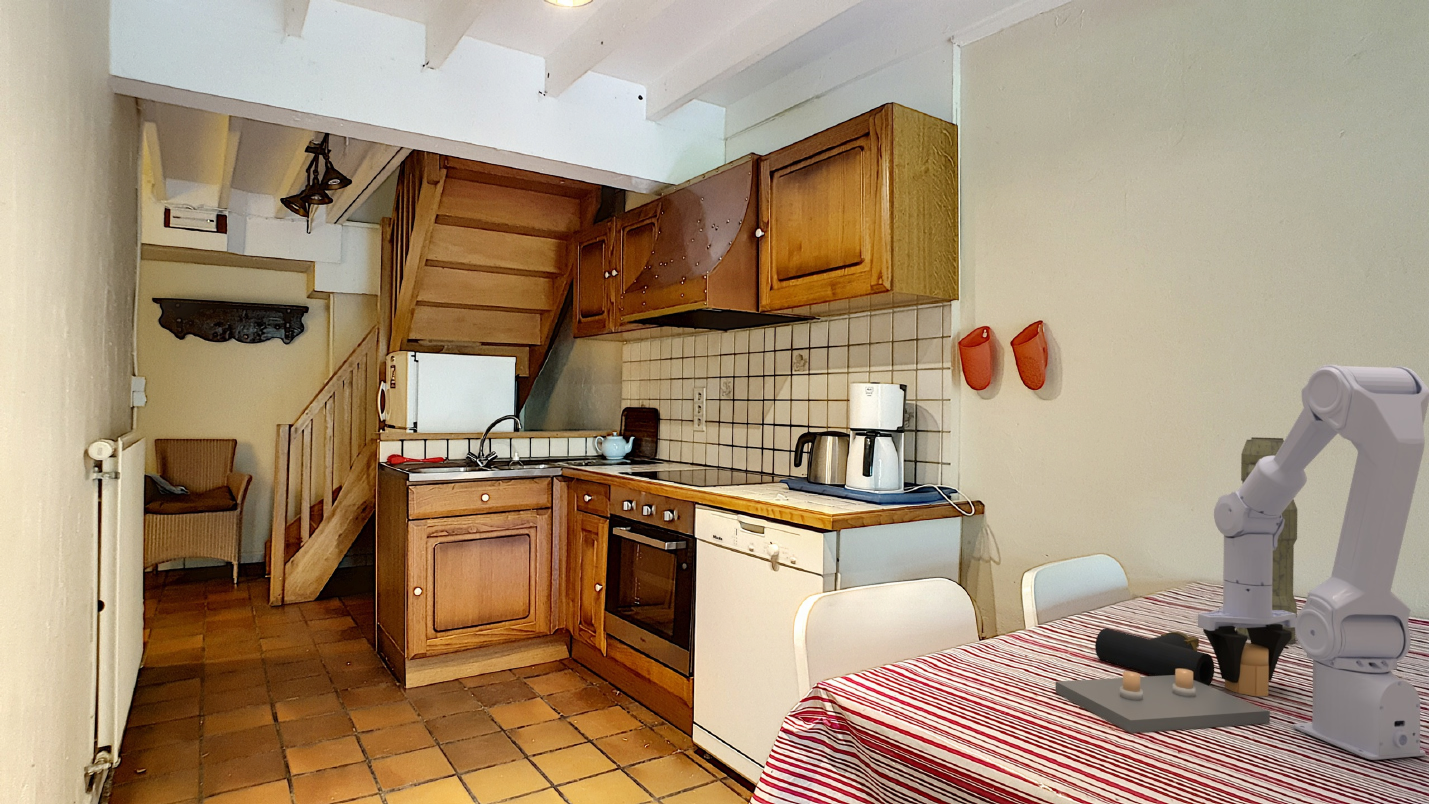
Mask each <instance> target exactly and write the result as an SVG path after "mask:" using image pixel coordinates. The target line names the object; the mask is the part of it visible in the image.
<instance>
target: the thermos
mask: <svg viewBox="0 0 1429 804" xmlns="http://www.w3.org/2000/svg"><path fill="white" fill-rule="evenodd" d="M1250 438H1251V439H1246V441H1245V444H1244V446H1243V448H1242V450H1241V459H1240V460H1241V462H1240V463H1241V465H1240V466H1241V467H1240V468H1241V469H1240V475H1241V476H1240V480H1241V481H1242V483H1241V485H1242V484H1243V483H1244V481H1245V480H1246V479H1247V477H1248V476H1249V474H1250V473H1251V472H1252V470H1253V469H1254V468H1255V466H1256V463H1257V462H1258V461H1259V459H1262V458H1263V457H1266V456H1276V454H1277V452H1278V451H1279V449H1280V447H1281V446H1282V444H1283V442H1284V440H1285V439H1284V438H1283V437H1250ZM1294 499H1295V498H1294ZM1294 499H1293V500H1292V501H1291V502H1290V504H1289V505H1288V506H1287V507H1286V509H1285V510H1284V511H1283V513H1282V518H1283V519H1284V520H1285V521H1284V527H1283V530H1282V532H1281V533H1280V534H1279V536H1278V540H1277V547H1276V550H1274V551H1273V568H1272V610H1284V611H1288V612H1291V613H1295V614H1296V617H1297V615H1298V608H1297V601H1296V598H1295V597H1294V562H1295V561H1294V558H1295V557H1294V556H1295V555H1294V553H1295V552H1294V550H1295V549H1294V547H1295V543H1296V541H1297V540H1298V507H1297V505H1296V503H1295V500H1294ZM1283 629H1285V630H1288V631H1291V632H1292V639H1291V640H1290V641H1289V642H1288V643H1287V645H1286V646H1288V645H1294V644H1295V643H1296V640H1297V638H1296V633H1295V627H1286V626H1283ZM1235 631H1238V634H1241V635H1244V636H1247V637H1248V639H1247V641H1248V640H1249V641H1250V637H1249V634H1248V631H1247V628H1235Z"/></svg>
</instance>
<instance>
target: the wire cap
mask: <svg viewBox="0 0 1429 804" xmlns="http://www.w3.org/2000/svg"><path fill="white" fill-rule="evenodd" d="M1268 657H1269V650H1268V648H1266V647H1263V646H1260V645H1257V644H1252V643H1251V642H1246V643H1245V646H1244V649H1243V652H1242V656H1241V664H1240V677H1239V681H1238V683H1232V682H1230V681H1227V680H1225V679H1224V688H1225V689H1226V690H1228V691H1231V692H1234V693H1236V694H1239V695H1247V696H1251V697H1268V696H1269V689H1270V688H1269V682H1270V681H1269V665H1268Z"/></svg>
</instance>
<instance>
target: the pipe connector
mask: <svg viewBox="0 0 1429 804" xmlns="http://www.w3.org/2000/svg"><path fill="white" fill-rule="evenodd" d="M1094 645H1095V646H1094V651H1095V654H1096V657H1097V658H1098V659H1099V660H1101V661H1105V662H1107V663H1112V664H1115V665H1119V666H1121V667H1124V666H1125V667H1124V668H1127V669H1132V670H1135V671H1139V672H1142V673H1146V674H1149V675H1151V676H1167V675H1175V671H1176V669H1179V668H1180V669H1187V670H1191V671H1193V680H1195V681H1197V682H1200V683H1202V684H1205V685H1207V686H1210V687H1211V684H1212V682H1213V679H1214V676H1215V663H1214V659H1213V656H1211V654H1209V653H1206V652H1202V651H1198V648H1199V647H1200V638H1199V637H1195V636H1190V635H1187V634H1186V633H1184V632H1181V631H1180V632H1179V631H1170V632H1167V633H1162V634H1160V635H1159V636H1157V637H1153V638H1146V637H1143V636H1139V635H1135V634H1131V633H1127V632H1124V631H1123V632H1122V631H1120V630H1116V629H1112V628H1108V627H1103V628H1102V629H1101V630H1100V631H1099V633H1098V635H1096V639H1095V643H1094Z"/></svg>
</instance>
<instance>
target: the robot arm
mask: <svg viewBox="0 0 1429 804" xmlns="http://www.w3.org/2000/svg"><path fill="white" fill-rule="evenodd" d="M1301 402H1302V406H1303V408H1302V410H1301V411H1300V413H1299V415H1298V417H1297V419H1296V420H1295V422H1294V424H1293V425H1292V427H1291V429H1290V430H1289V432H1288V434H1287V436H1286V437H1285V439H1283V440H1284V442H1283V444H1282V446H1281V447H1280V449H1279V451H1278V452H1277V454H1276V456H1266V457H1263V458H1262V459H1259V461H1258V462H1257V463H1256V466H1255V468H1254V469H1253V470H1252V472H1251V473H1250V474H1249V476H1248V477H1247V479H1246V480H1245V481H1244V483H1243V484H1242V483H1241V486H1240V487H1239V488H1238V489H1237V490H1236V491H1235V490H1234V491H1231V492H1230V493H1229V494H1223V495H1221V496H1219V498H1218V500H1217V502H1216V503H1215V506H1214V509H1213V510H1214V512H1213V519H1214V523H1215V526H1216V528H1217V529H1218V532H1220V533H1221V534H1222V535H1223V567H1222V568H1223V575H1222V577H1223V580H1222V582H1223V583H1222V584H1223V585H1222V588H1223V589H1222V591H1223V592H1222V594H1223V595H1222V603H1223V604H1222V606H1218V609H1217V610H1213V611H1207V612H1200V613H1199V612H1198V613H1197V627H1198V628H1200V629H1202V631H1203V634H1205V637H1206V638H1207V641H1208V642H1209V644H1210V645H1211V648H1212V649H1213V652H1214V655H1215V657H1216V661H1217V663H1218V668H1219V672H1220V677H1221V679H1223V680H1224V681H1225V680H1227V681H1230V682H1232V683H1238V681H1239V677H1240V664H1241V656H1242V652H1243V649H1244V646H1245V643H1247V641H1248V637H1247V636H1244V635H1241V634H1238V631H1236V628H1247V631H1248V634H1249V637H1250V640H1249V641H1250V643H1252V644H1257V645H1260V646H1263V647H1266V648H1268V650H1269V657H1268V665H1269V682H1270V681H1272V679H1273V676H1274V673H1275V670H1276V667H1277V664H1278V661H1279V659H1280V656H1281V654H1282V652H1283V651H1284V649H1285V648H1286V646H1288V645H1287V643H1288V642H1289V641H1290V640H1291V639H1292V632H1291V631H1288V630H1285V629H1283V626H1286V627H1295V638H1296V640H1297V642H1298V644H1299V645H1300V647H1301V649H1302V650H1303V651H1304V652H1305V654H1306V658H1308V659H1311V660H1312V713H1311V714H1312V718H1311V721H1312V722H1302V723H1294V724H1293V725H1292V727H1293V729H1295V730H1298V731H1301V732H1302V733H1304V734H1307V735H1310V736H1312V737H1314V738H1317V739H1320V740H1322V741H1324V742H1326V743H1329V744H1331V745H1333V746H1336V747H1338V748H1340V749H1343V750H1346V751H1348V752H1349V753H1353V754H1356V755H1357V756H1360V757H1362V758H1365V759H1368V760H1370V761H1371V760H1372V761H1374V760H1375V761H1376V760H1387V759H1389V760H1390V759H1397V758H1398V759H1399V758H1401V759H1402V758H1410V757H1411V758H1412V757H1420V756H1421V757H1422V756H1426V751H1425V750H1423V749H1421V699H1420V695H1419V693H1418V691H1417V688H1415V686H1414V685H1413V684H1411V683H1410V682H1408V681H1407V680H1405V679H1401V678H1399V677H1398V676H1397V675H1396V674H1394V673H1393V672H1392V670H1397V669H1398V661H1401V660H1403V659H1405V657H1407V655H1408V653H1409V651H1410V649H1411V643H1412V642H1411V640H1412V639H1411V633H1410V629H1409V628H1410V627H1409V619H1410V618H1409V617H1410V614H1411V609H1410V607H1409V606H1407V604H1406V603H1405V602H1404V601H1403V600H1402V599H1400V598H1399V597H1398V596H1397V595H1396V594H1395V593H1393V592H1392V586H1393V582H1394V578H1395V574H1396V569H1397V566H1398V562H1399V556H1400V553H1401V549H1402V545H1403V540H1404V536H1405V531H1406V528H1407V522H1408V519H1409V514H1410V510H1411V505H1412V502H1413V501H1412V500H1413V497H1414V493H1415V488H1416V486H1417V480H1418V476H1419V471H1420V467H1421V463H1422V459H1423V455H1424V449H1425V444H1426V443H1425V430H1424V425H1425V424H1424V423H1425V420H1426V415H1427V411H1428V407H1429V387H1428V386H1427V384H1426V383H1425V382H1424V381H1423V380H1422V378H1421V377H1420V376H1419V374H1417V373H1416V371H1414V370H1413V369H1411V368H1408V367H1406V366H1400V365H1399V366H1396V365H1395V366H1391V367H1388V366H1387V367H1386V366H1384V367H1382V366H1381V367H1380V366H1354V365H1352V366H1351V365H1350V366H1349V365H1347V366H1346V365H1345V366H1344V365H1339V364H1324V365H1321V366H1320V367H1318V368H1316V370H1314V371H1313V373H1312V374H1311V375H1310V376H1309V378H1308V381H1307V384H1306V385H1304V387H1303V388H1301ZM1338 434H1339V436H1340V437H1342V438H1343V439H1346V440H1348V441H1350V443H1351V444H1352V445H1353V446H1354V448H1355V449H1356V450H1357V456H1356V461H1355V464H1354V470H1353V475H1352V478H1351V483H1350V489H1349V493H1348V497H1347V502H1346V505H1345V512H1344V516H1343V522H1342V525H1341V528H1340V529H1341V530H1340V535H1339V538H1338V543H1337V548H1336V553H1335V558H1334V562H1333V567H1332V572H1331V576H1330V577H1329V578H1328V579H1327V580H1325V581H1322V583H1320V584H1319V585H1317V586H1316V587H1314V588H1312V589H1311V590H1310V591H1309V592H1308V593H1307V597H1306V600H1305V601H1306V602H1305V603H1304V605H1303V607H1302V608H1301V609H1300V610H1299V611H1298V612H1297V617H1296V614H1295V613H1291V612H1288V611H1284V610H1272V568H1273V551H1274V550H1276V547H1277V540H1278V536H1279V534H1280V533H1281V532H1282V530H1283V527H1284V521H1285V520H1284V519H1283V518H1282V513H1283V511H1284V510H1285V509H1286V507H1287V506H1288V505H1289V504H1290V502H1291V501H1292V500H1293V499H1295V498H1296V496H1297V495H1298V494H1299V492H1301V490H1302V489H1303V488H1304V486H1305V485H1306V483H1307V475H1306V472H1305V469H1306V468H1307V467H1308V465H1310V464H1311V462H1313V460H1314V459H1315V458H1316V457H1317V456H1318V455H1319V454H1320V453H1321V452H1322V450H1323V449H1325V448H1326V447H1327V445H1328V444H1330V442H1331V441H1332V440H1333V439H1334V438H1335V437H1336V436H1337V435H1338Z"/></svg>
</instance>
